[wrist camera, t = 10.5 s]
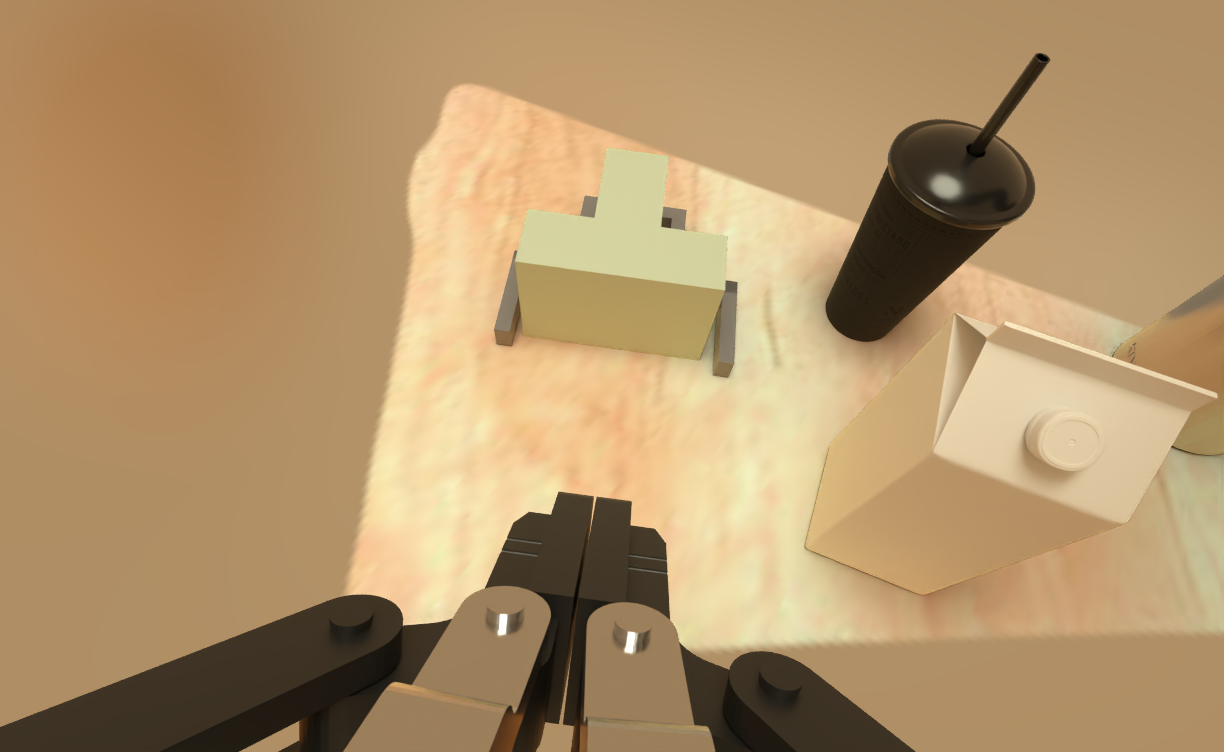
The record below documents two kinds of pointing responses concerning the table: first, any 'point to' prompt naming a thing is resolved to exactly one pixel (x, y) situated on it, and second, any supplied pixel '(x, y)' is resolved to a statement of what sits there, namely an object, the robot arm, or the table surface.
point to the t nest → (669, 220)
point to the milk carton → (993, 455)
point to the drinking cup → (931, 215)
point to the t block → (621, 269)
